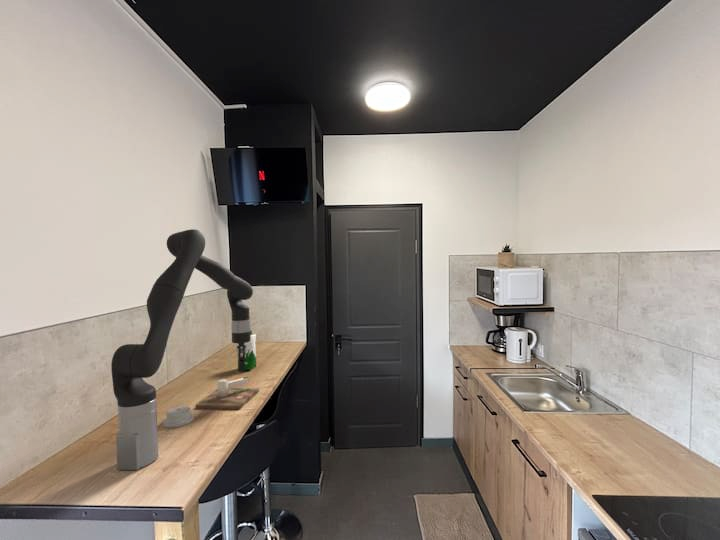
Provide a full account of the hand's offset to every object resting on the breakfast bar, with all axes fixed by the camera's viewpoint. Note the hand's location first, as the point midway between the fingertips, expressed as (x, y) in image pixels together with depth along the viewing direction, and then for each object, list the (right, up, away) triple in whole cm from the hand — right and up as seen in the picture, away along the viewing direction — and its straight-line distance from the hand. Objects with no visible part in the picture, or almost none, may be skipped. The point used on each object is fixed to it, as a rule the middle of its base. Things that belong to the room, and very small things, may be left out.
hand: (242, 371), depth 144 cm
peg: (-4, -9, 0) cm, 10 cm away
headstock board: (-4, -11, -3) cm, 12 cm away
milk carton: (-11, -10, +39) cm, 42 cm away
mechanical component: (-15, -12, -22) cm, 29 cm away
